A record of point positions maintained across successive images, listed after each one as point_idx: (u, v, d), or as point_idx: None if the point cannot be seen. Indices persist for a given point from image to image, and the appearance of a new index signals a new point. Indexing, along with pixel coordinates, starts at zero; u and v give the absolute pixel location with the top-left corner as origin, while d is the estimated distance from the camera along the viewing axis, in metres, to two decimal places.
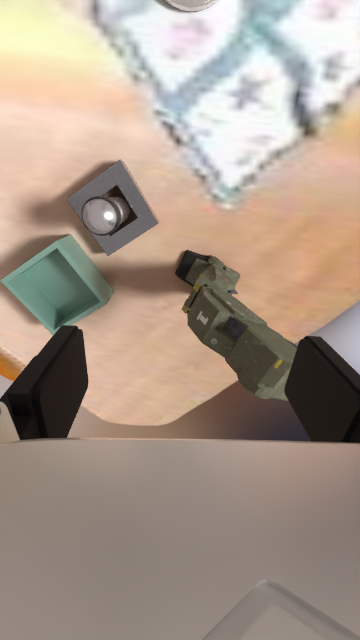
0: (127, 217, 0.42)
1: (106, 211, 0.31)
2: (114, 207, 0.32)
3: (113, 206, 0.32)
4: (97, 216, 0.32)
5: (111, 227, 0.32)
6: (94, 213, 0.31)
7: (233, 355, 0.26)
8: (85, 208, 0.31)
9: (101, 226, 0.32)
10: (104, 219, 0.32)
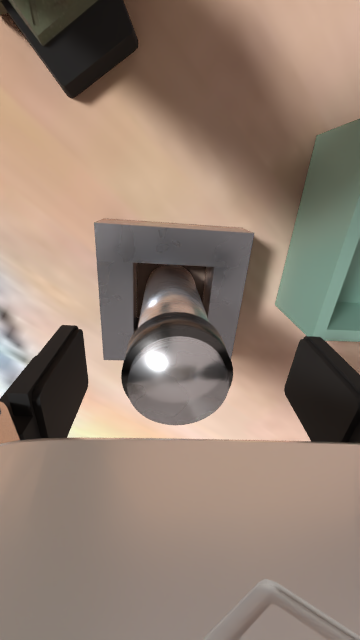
0: (160, 267, 0.20)
1: (148, 389, 0.10)
2: (125, 376, 0.10)
3: (125, 379, 0.10)
4: (181, 392, 0.10)
5: (166, 350, 0.09)
6: (183, 401, 0.10)
7: None
8: (194, 418, 0.11)
9: (191, 368, 0.10)
10: (169, 377, 0.10)
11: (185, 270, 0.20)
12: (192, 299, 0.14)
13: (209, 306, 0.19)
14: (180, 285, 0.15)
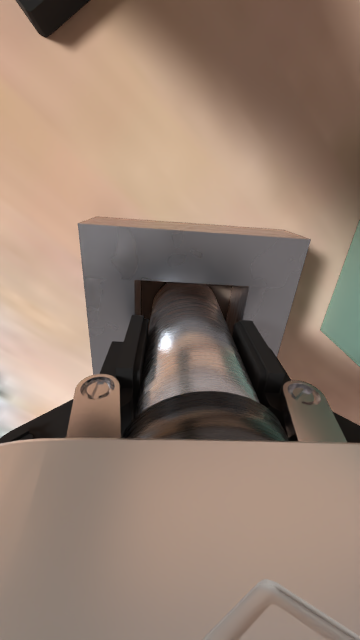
0: (172, 282, 0.15)
1: None
2: None
3: None
4: None
5: None
6: None
7: None
8: None
9: None
10: None
11: (205, 286, 0.15)
12: (224, 344, 0.09)
13: None
14: (204, 317, 0.10)
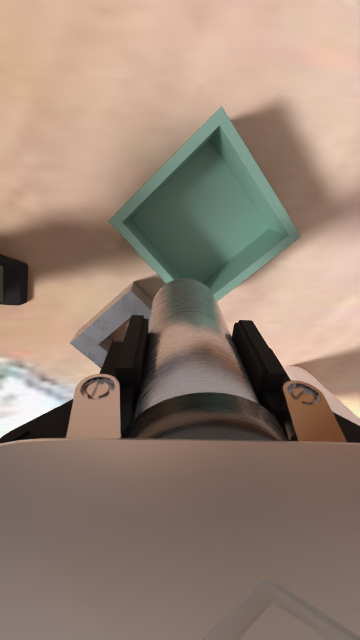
0: (172, 283, 0.15)
1: None
2: None
3: None
4: None
5: None
6: None
7: None
8: None
9: None
10: None
11: (205, 287, 0.15)
12: (224, 345, 0.09)
13: None
14: (203, 318, 0.10)
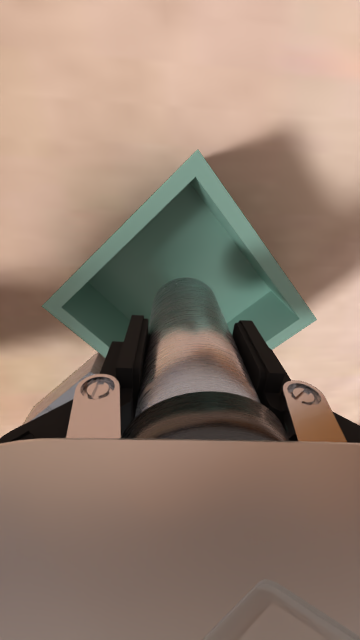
0: (172, 282, 0.15)
1: None
2: None
3: None
4: None
5: None
6: None
7: None
8: None
9: None
10: None
11: (205, 286, 0.15)
12: (225, 344, 0.09)
13: None
14: (204, 317, 0.10)
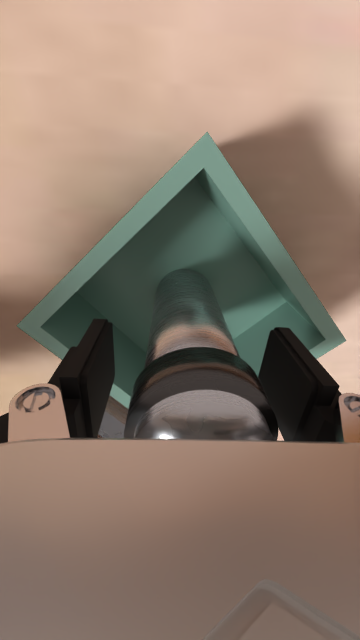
0: (173, 273, 0.17)
1: None
2: (128, 437, 0.08)
3: None
4: None
5: (188, 414, 0.06)
6: None
7: None
8: None
9: (223, 436, 0.07)
10: None
11: (202, 276, 0.17)
12: (216, 320, 0.11)
13: None
14: (199, 299, 0.12)
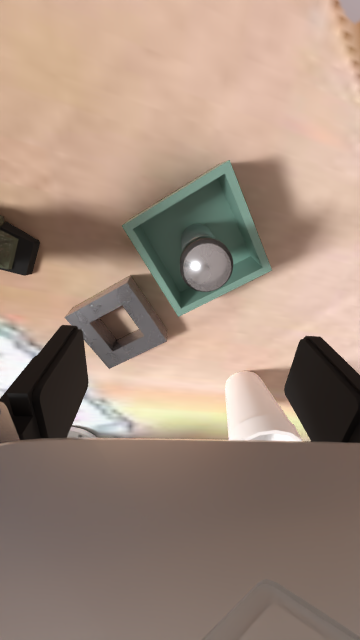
0: (195, 224, 0.31)
1: (193, 266, 0.21)
2: (182, 259, 0.22)
3: (182, 261, 0.22)
4: (207, 271, 0.22)
5: (208, 247, 0.21)
6: (207, 277, 0.22)
7: None
8: (209, 288, 0.22)
9: (216, 259, 0.21)
10: (205, 261, 0.21)
11: (209, 229, 0.31)
12: None
13: (134, 321, 0.35)
14: (209, 232, 0.27)
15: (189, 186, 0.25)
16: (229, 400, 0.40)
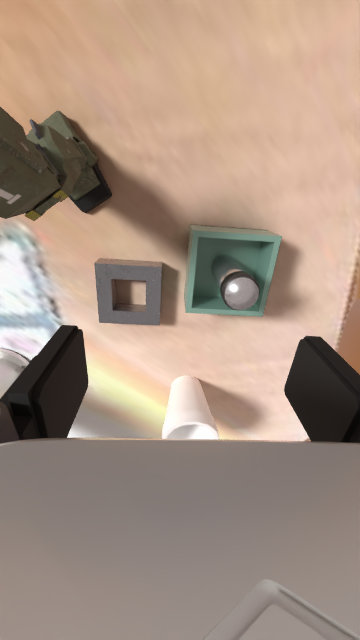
0: (230, 257, 0.40)
1: (236, 288, 0.30)
2: (231, 280, 0.31)
3: (230, 281, 0.31)
4: (241, 296, 0.31)
5: (251, 282, 0.30)
6: (238, 299, 0.31)
7: None
8: (234, 307, 0.32)
9: (250, 292, 0.31)
10: (244, 289, 0.31)
11: None
12: None
13: (146, 298, 0.41)
14: None
15: (250, 235, 0.34)
16: (176, 393, 0.48)
